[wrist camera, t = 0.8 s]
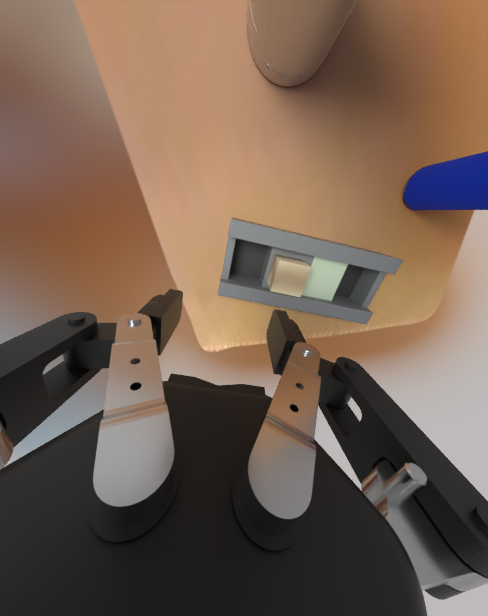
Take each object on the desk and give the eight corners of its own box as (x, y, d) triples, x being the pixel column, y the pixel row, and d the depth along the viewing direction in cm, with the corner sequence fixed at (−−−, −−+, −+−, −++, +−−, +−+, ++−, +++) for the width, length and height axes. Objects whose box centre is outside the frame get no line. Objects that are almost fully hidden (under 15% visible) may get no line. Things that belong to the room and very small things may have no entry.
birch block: (274, 253, 27) (279, 260, 23) (302, 259, 27) (311, 267, 23) (266, 281, 28) (270, 291, 25) (293, 286, 29) (300, 297, 25)
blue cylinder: (445, 191, 27) (646, 171, 14) (408, 218, 29) (557, 224, 15) (433, 156, 25) (650, 94, 12) (394, 187, 27) (549, 162, 13)
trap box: (232, 217, 28) (231, 218, 23) (377, 252, 31) (403, 260, 26) (221, 282, 32) (217, 295, 28) (348, 308, 35) (366, 324, 30)
